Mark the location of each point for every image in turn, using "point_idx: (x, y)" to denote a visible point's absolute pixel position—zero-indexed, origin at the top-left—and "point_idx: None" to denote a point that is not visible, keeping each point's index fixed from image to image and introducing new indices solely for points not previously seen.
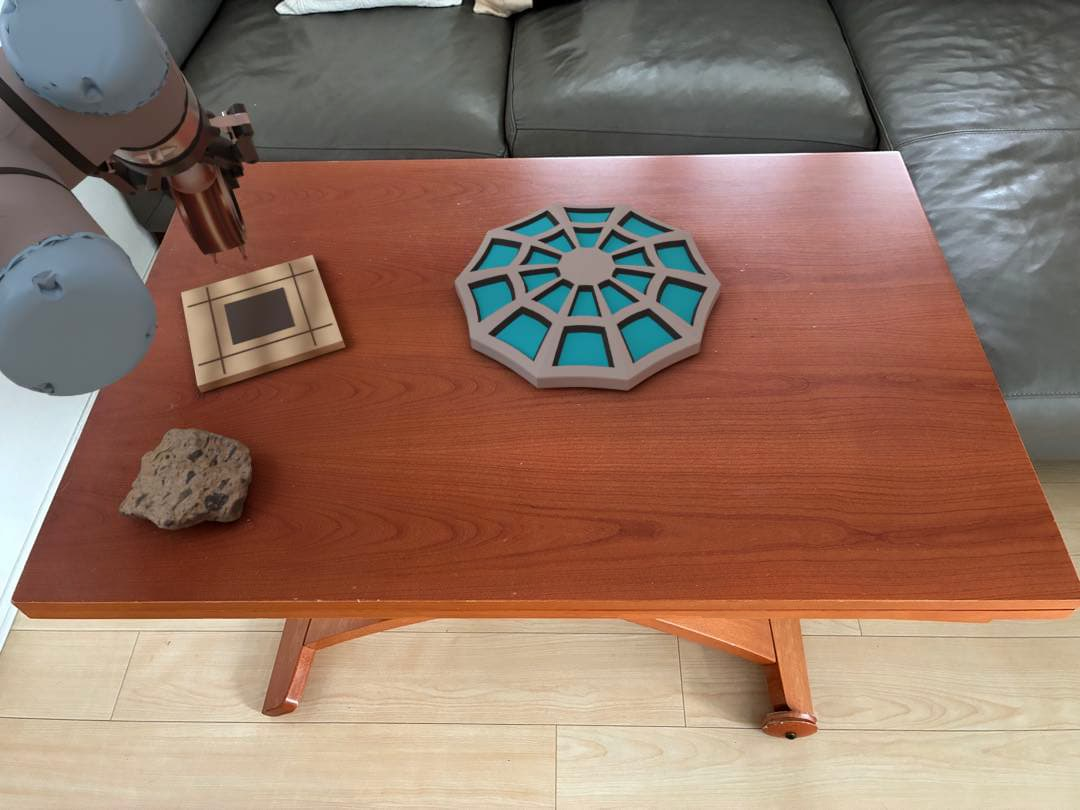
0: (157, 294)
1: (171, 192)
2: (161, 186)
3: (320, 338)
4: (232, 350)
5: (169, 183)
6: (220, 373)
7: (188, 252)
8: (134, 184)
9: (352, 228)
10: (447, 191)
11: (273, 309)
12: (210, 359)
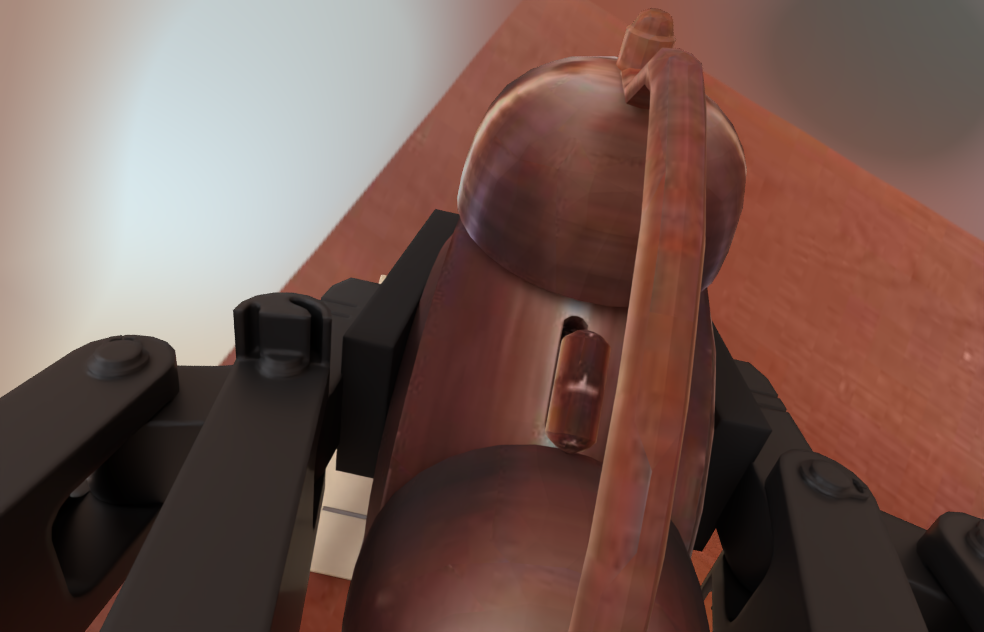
0: (347, 234)
1: (366, 534)
2: (341, 453)
3: None
4: None
5: (377, 502)
6: (350, 562)
7: (441, 161)
8: (159, 495)
9: (743, 290)
10: (957, 305)
11: None
12: (350, 506)
